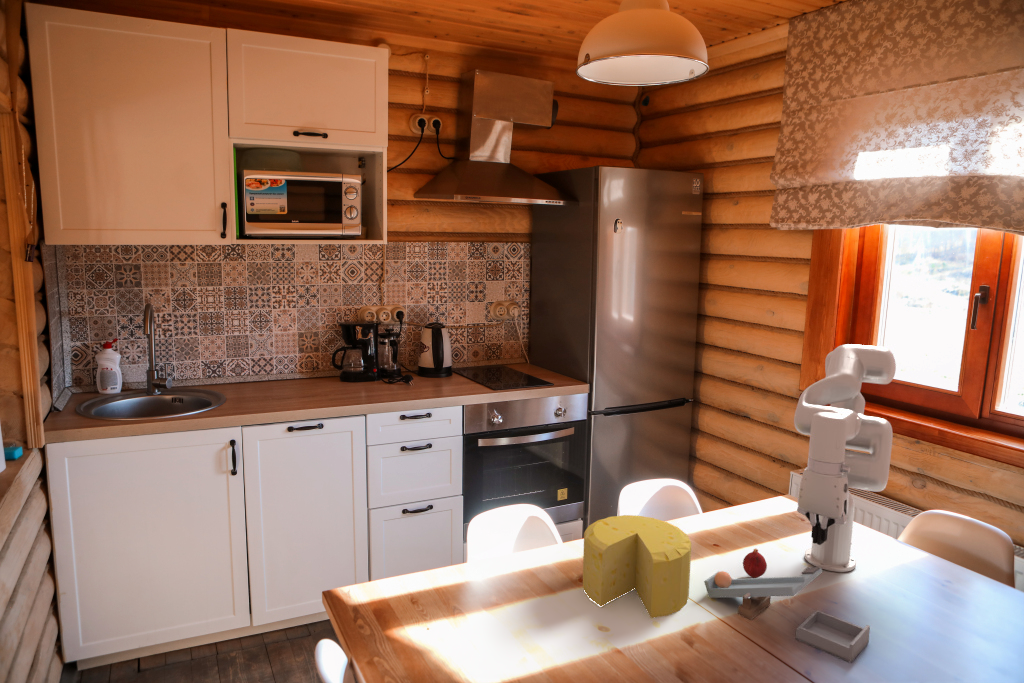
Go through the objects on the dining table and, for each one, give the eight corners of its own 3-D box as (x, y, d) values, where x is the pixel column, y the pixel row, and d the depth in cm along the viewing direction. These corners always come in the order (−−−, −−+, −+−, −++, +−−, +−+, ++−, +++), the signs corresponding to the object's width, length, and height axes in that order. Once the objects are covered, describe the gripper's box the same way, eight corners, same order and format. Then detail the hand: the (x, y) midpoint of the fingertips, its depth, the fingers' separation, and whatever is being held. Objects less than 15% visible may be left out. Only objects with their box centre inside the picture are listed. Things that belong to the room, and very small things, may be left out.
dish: (814, 621, 156) (815, 605, 155) (868, 642, 147) (870, 625, 147) (795, 639, 149) (796, 622, 148) (851, 663, 140) (852, 645, 140)
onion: (767, 585, 172) (769, 555, 171) (743, 582, 173) (745, 553, 172) (763, 574, 177) (765, 545, 176) (740, 571, 179) (742, 543, 177)
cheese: (619, 628, 152) (621, 566, 150) (563, 576, 176) (565, 521, 173) (711, 604, 163) (714, 545, 160) (647, 557, 186) (649, 505, 184)
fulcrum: (757, 598, 165) (758, 581, 164) (770, 603, 163) (771, 586, 162) (737, 614, 158) (738, 596, 158) (750, 619, 156) (752, 601, 155)
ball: (724, 587, 168) (716, 571, 169) (737, 583, 165) (729, 567, 166) (716, 592, 165) (708, 576, 166) (729, 588, 163) (721, 572, 164)
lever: (740, 575, 176) (735, 560, 177) (822, 571, 161) (817, 555, 161) (705, 599, 164) (700, 583, 165) (790, 598, 148) (785, 580, 149)
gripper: (865, 471, 153) (858, 548, 155) (799, 456, 164) (793, 528, 166) (853, 477, 148) (846, 557, 150) (786, 461, 159) (780, 537, 161)
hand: (818, 542), depth 158 cm, fingers closed
